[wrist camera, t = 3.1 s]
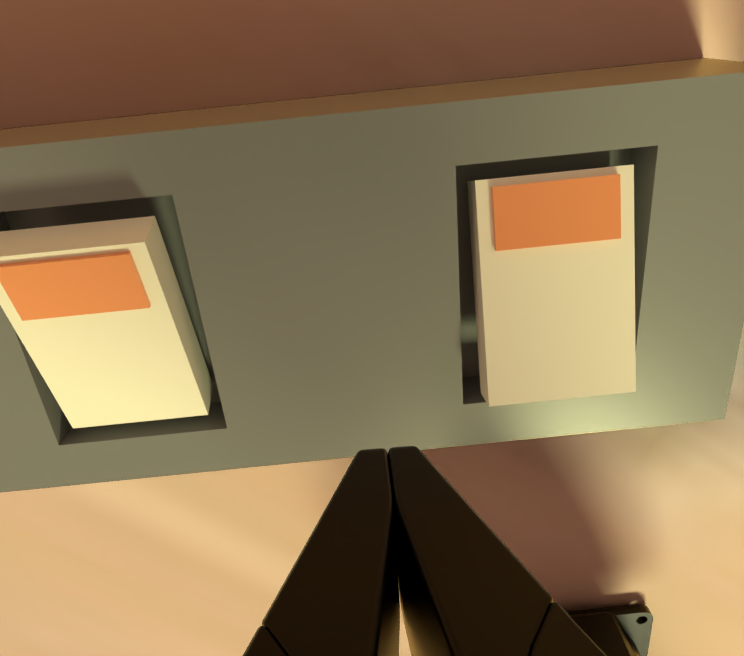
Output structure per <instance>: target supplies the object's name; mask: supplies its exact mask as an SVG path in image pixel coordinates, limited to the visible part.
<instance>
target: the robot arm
mask: <svg viewBox="0 0 744 656" xmlns="http://www.w3.org/2000/svg"><path fill="white" fill-rule="evenodd" d="M398 583H399V586H398ZM399 593H400V601H401V608H402V613H403V618H404V624H405V628H406V633H407V637H408V642H409V646H410V651H411V655H412V656H647V654H648V647H649V641H650V635H651V628H652V622H653V616H652V614H651V612H650V610H649V608H648V607H647V606H644V605H633V606H623V607H613V608H603V609H593V610H584V611H574V612H566V611H565V610H564V609H563V608H562V607H561V606H560V605H559V603H557V602H553V597H552V596H551V595H550V594H549V593H548V592H547V591H546V589H545V588H544V587H543V586H542V585H541V584H540V583H539V582H538V581H537V579H536V578H535V577H534V576H533V575H532V574H531V573H530V572H529V571H528V569H527V568H526V567H525V566H524V565H523V564H522V563H521V562H520V561H519V559H518V558H517V557H516V556H515V555H514V554H513V553H512V552H511V551H510V549H509V548H508V547H507V546H506V545H505V544H504V543H503V542H502V541H501V539H500V538H499V537H498V536H497V535H496V534H495V533H494V532H493V531H492V529H491V528H490V527H489V526H488V525H487V524H486V523H485V522H484V521H483V519H482V518H481V517H480V516H479V515H478V514H477V513H476V512H475V511H474V509H473V508H472V507H471V506H470V505H469V504H468V503H467V502H466V501H465V499H464V498H463V497H462V496H461V495H460V494H459V493H458V492H457V491H456V489H455V488H454V487H453V486H452V485H451V484H450V483H449V482H448V481H447V479H446V478H445V477H444V476H443V475H442V474H441V473H440V472H439V471H438V469H437V468H436V467H435V466H434V465H433V464H432V463H431V462H430V461H429V459H428V458H427V457H426V456H425V455H424V454H423V453H422V452H421V451H420V449H419V448H418V447H416V446H403V447H392V448H390V449H389V451H388V453H387V451H386V449H384V448H378V449H365V450H360V451H358V452H357V454H356V456H355V457H354V459H353V461H352V463H351V464H350V466H349V468H348V470H347V472H346V473H345V475H344V477H343V479H342V481H341V482H340V484H339V486H338V488H337V489H336V491H335V493H334V495H333V497H332V498H331V500H330V502H329V504H328V505H327V507H326V509H325V511H324V513H323V514H322V516H321V518H320V520H319V521H318V523H317V525H316V527H315V529H314V530H313V532H312V534H311V536H310V537H309V539H308V541H307V543H306V545H305V546H304V548H303V550H302V552H301V554H300V555H299V557H298V559H297V561H296V562H295V564H294V566H293V568H292V570H291V571H290V573H289V575H288V577H287V578H286V580H285V582H284V584H283V586H282V587H281V589H280V591H279V593H278V594H277V596H276V598H275V600H274V602H273V603H272V605H271V607H270V609H269V610H268V612H267V614H266V616H265V618H264V619H263V621H262V626H260V627H259V628H258V629H257V631H256V633H255V635H254V637H253V638H252V640H251V642H250V644H249V646H248V647H247V649H246V651H245V653H244V654H243V656H399V630H400V603H399Z"/></svg>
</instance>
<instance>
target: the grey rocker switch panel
mask: <svg viewBox="0 0 744 656" xmlns="http://www.w3.org/2000/svg"><path fill="white" fill-rule="evenodd" d="M633 164H634V243H635V351H636V392H629V393H619V394H609V395H599V396H589V397H579V398H569V399H560V400H550V401H540V402H530V403H520V404H510V405H500V406H490V407H489V406H488V404H487V402H486V401H485V399H484V397H483V396H482V394H481V389H480V374H479V358H478V343H477V328H476V312H475V297H474V281H473V266H472V250H471V235H470V220H469V204H468V189H467V181H475V180H485V179H495V178H505V177H515V176H524V175H534V174H544V173H554V172H564V171H574V170H584V169H593V168H603V167H613V166H623V165H633ZM149 216H155V218H156V221H157V223H158V226H159V229H160V232H161V235H162V238H163V241H164V244H165V247H166V250H167V252H168V255H169V258H170V261H171V264H172V267H173V270H174V273H175V276H176V279H177V281H178V284H179V287H180V290H181V293H182V296H183V299H184V302H185V305H186V308H187V311H188V313H189V316H190V319H191V322H192V325H193V328H194V331H195V334H196V337H197V340H198V342H199V345H200V348H201V351H202V354H203V357H204V360H205V363H206V366H207V369H208V371H209V374H210V377H211V380H212V383H213V391H212V397H211V402H210V408H209V413H208V415H202V416H192V417H182V418H172V419H162V420H152V421H143V422H133V423H123V424H113V425H103V426H93V427H83V428H72V426H71V424H70V423H69V421H68V419H67V417H66V416H65V414H64V412H63V411H62V409H61V407H60V406H59V404H58V402H57V401H56V399H55V397H54V395H53V394H52V392H51V390H50V389H49V387H48V385H47V384H46V382H45V380H44V378H43V377H42V375H41V373H40V372H39V370H38V368H37V367H36V365H35V363H34V361H33V360H32V358H31V356H30V355H29V353H28V351H27V350H26V348H25V346H24V344H23V343H22V341H21V339H20V338H19V336H18V334H17V333H16V331H15V329H14V328H13V326H12V324H11V322H10V321H9V319H8V317H7V316H6V314H5V312H4V311H3V309H2V307H1V305H0V492H10V491H20V490H30V489H40V488H50V487H60V486H70V485H80V484H89V483H99V482H109V481H119V480H129V479H139V478H149V477H159V476H169V475H179V474H189V473H199V472H208V471H218V470H228V469H238V468H248V467H258V466H268V465H278V464H288V463H298V462H308V461H317V460H327V459H337V458H347V457H355V456H356V454H357V452H358V451H360V450H365V449H378V448H384V449H386V451H387V453H388V451H389V449H390V448H392V447H403V446H416V447H418V448H419V449H420V450H426V449H436V448H446V447H456V446H466V445H476V444H486V443H496V442H506V441H516V440H526V439H536V438H545V437H555V436H565V435H575V434H585V433H595V432H605V431H615V430H625V429H635V428H645V427H654V426H664V425H674V424H684V423H694V422H704V421H714V420H724V419H725V416H726V411H727V406H728V400H729V395H730V390H731V385H732V380H733V374H734V369H735V364H736V359H737V353H738V348H739V343H740V338H741V333H742V327H743V322H744V62H737V61H728V60H719V59H709V58H699V59H689V60H679V61H669V62H659V63H649V64H640V65H630V66H620V67H610V68H600V69H590V70H581V71H571V72H561V73H551V74H541V75H531V76H521V77H512V78H502V79H492V80H482V81H472V82H462V83H452V84H443V85H433V86H423V87H413V88H403V89H393V90H383V91H374V92H364V93H354V94H344V95H334V96H324V97H315V98H305V99H295V100H285V101H275V102H265V103H255V104H246V105H236V106H226V107H216V108H206V109H196V110H186V111H177V112H167V113H157V114H147V115H137V116H127V117H117V118H108V119H98V120H88V121H78V122H68V123H58V124H49V125H39V126H29V127H19V128H9V129H0V232H1V231H11V230H21V229H30V228H40V227H50V226H60V225H70V224H80V223H90V222H100V221H109V220H119V219H129V218H139V217H149Z"/></svg>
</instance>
